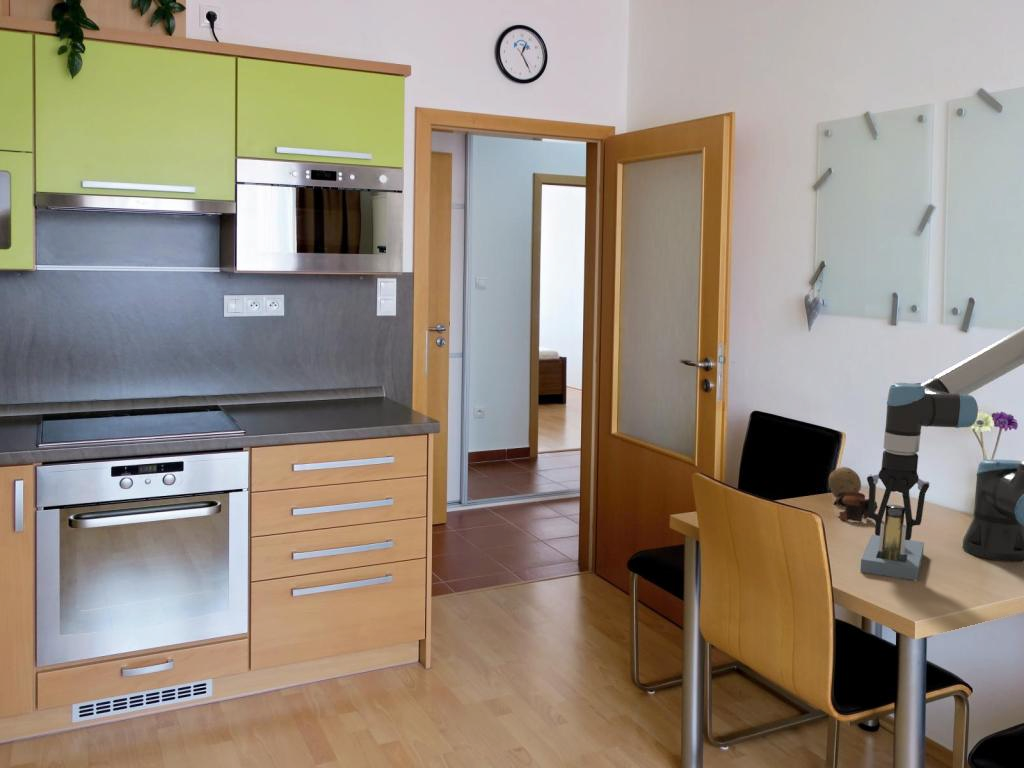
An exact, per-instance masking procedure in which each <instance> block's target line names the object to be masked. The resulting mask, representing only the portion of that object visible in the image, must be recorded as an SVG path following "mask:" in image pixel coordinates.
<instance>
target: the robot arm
mask: <svg viewBox="0 0 1024 768" xmlns="http://www.w3.org/2000/svg"><path fill="white" fill-rule="evenodd" d="M1022 365H1024V326H1023V327H1021V328H1019V329H1017V330H1015V331H1013V332H1011V333H1010V334H1008V335H1006V336H1005V337H1003V338H1001V339H1000V340H998V341H996V342H993V343H992V344H990V345H988V346H987V347H984V348H983V349H981V350H980V351H977V352H976V353H975V354H972V355H971V356H969V357H967V358H965V359H964V360H961V361H960V362H958V363H956V364H954V365H953V366H951V367H949V368H948V369H945V370H944V371H942V372H941V373H938V374H936V375H935V376H932V377H931V378H929V379H927V380H926V381H924V382H922V383H921V382H913V383H912V382H911V383H910V382H895V383H893V384H891V385H890V386H889V389H888V394H887V401H886V419H885V428H884V436H883V437H884V438H883V449H884V451H882V457H881V458H882V459H881V468H880V470H879V471H878V473H875V474H868V475H867V477H866V481H867V484H868V486H869V487H868V488H869V489H868V499H869V505H868V519H872V520H873V521H875V529H874V530H875V531H874V535H877V536H880V539H879V550H878V551H882V548H883V537H884V527H885V520H883V518H884V515H885V513H886V506H887V505H888V503H889V499H890V496H891V494H892V492H893V493H896V492H897V493H900V494H902V498H903V499H902V500H903V507H904V510H905V513H904V519H905V523H904V524H903V528H902V539H901V549H900V554H902V555H904V552H905V541H906V540H911V539H912V533H913V527H914V526H920V525H921V523H922V521H923V512H924V506H925V498H926V493H927V491H928V490H929V488H930V482H929V481H927V480H926V481H924V480H922V479H921V478H919V475H918V465H919V464H918V463H919V455H918V453H919V451H920V442H921V433H922V427H937V428H939V427H940V428H956V429H959V428H970V427H972V426H973V425H974V424H975V423H976V421H977V419H978V414H979V407H978V402H977V400H976V398H975V397H974V396H973V395H970V394H972V393H973V392H975V391H977V390H978V389H981V388H982V387H985V386H986V385H988V384H989V383H991V382H993V381H995V380H997V379H999V378H1000V377H1003V376H1004V375H1006V374H1008V373H1010V372H1011V371H1014V370H1015V369H1017V368H1018V367H1021V366H1022ZM976 472H977V473H976V484H975V492H974V493H975V494H974V496H975V497H974V505H973V506H974V507H973V516H972V520H971V521H970V524H969V525H968V528H967V530H966V533H965V535H964V537H963V539H962V549H963V551H965V552H967V553H968V554H971V555H973V556H976V557H980V558H985V559H988V560H993V561H1001V562H1024V460H1013V459H982V460H981V461H980V462H979V463H978V468H977V471H976ZM879 480H880V481H881V482H882V484H883V486H884V488H885V490H884V493H883V496H882V500H881V503H880V505H879V509H878V511H877V512H878V513H876V511H875V502H876V495H877V494H876V492H877V491H876V490H877V484H878V482H879ZM916 484H917V490H918V491H919V494H918V497H917V498H918V499H917V506H916V514H915V518H913V512H912V505H911V499H910V498H911V496H910V491H911V489H912V488H913V487H914V486H916Z"/></svg>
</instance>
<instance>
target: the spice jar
mask: <svg viewBox="0 0 1024 768" xmlns="http://www.w3.org/2000/svg"><path fill="white" fill-rule="evenodd" d="M884 515H885V518H884V521H885V527H884V537H883V548H882V558H884V559H887V560H893V561H897V560H900V555H901V554H900V549H901V539H902V528H903V524H905V523H904V521H905V510H904V506H902V505H897V504H887V506H886V509H885V514H884Z"/></svg>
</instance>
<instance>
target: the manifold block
mask: <svg viewBox="0 0 1024 768" xmlns="http://www.w3.org/2000/svg"><path fill="white" fill-rule="evenodd" d="M879 539H880V536H877V535H875V534H871V535H870V538H869V540H868V543H867V545H866V547H865V550H864V552H863V554H862V556H861V560H860V568H859V569H860V571H862V572H861V573H864V572H867V573H866V574H870V573H871V574H872V575H876V574H878V575H877V576H883V575H886V576H885V577H889V576H892V577H891V578H895V577H899V578H898V579H902V578H906V579H905V580H908V579H912V580H911V581H914V580H917V581H918V577H919V574H920V570H921V566H922V565H921V564H922V561H923V560H922V559H923V557H924V547H925V541H919V540H911V539H910V540H906V541H905V552H904V555H902V554H901V555H900V560H897V561H893V560H887V559H884V558H882V551H878V550H879ZM922 556H923V557H922ZM919 569H920V570H919ZM918 573H919V574H918Z"/></svg>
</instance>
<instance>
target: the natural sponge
mask: <svg viewBox="0 0 1024 768" xmlns="http://www.w3.org/2000/svg"><path fill="white" fill-rule="evenodd" d="M861 481H862V480H861V479H860V476H859V474H858V473H857V472H856V471H854V470H853V469H852V468H850V467H847V466H842V467H838V468H836V469H833V470H832V472H830V473H829V476H828V486H829V488H830V492H831V494H832V495H833V496H834V498H835V499H837V494H838V493H841V492H858V493H860V491H861V487H862V482H861Z"/></svg>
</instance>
